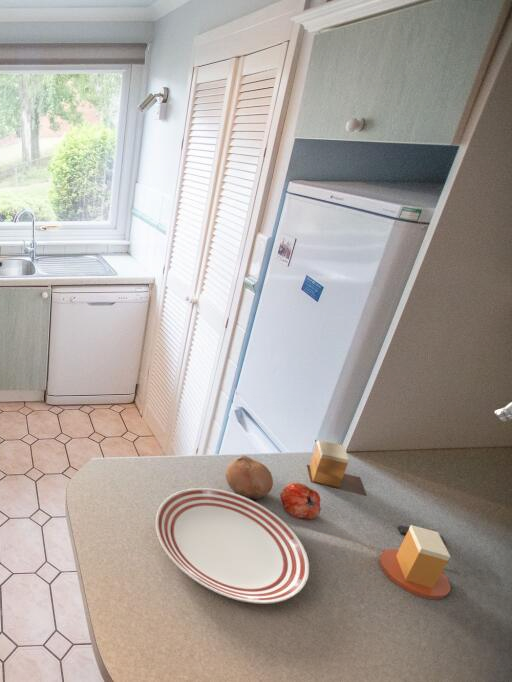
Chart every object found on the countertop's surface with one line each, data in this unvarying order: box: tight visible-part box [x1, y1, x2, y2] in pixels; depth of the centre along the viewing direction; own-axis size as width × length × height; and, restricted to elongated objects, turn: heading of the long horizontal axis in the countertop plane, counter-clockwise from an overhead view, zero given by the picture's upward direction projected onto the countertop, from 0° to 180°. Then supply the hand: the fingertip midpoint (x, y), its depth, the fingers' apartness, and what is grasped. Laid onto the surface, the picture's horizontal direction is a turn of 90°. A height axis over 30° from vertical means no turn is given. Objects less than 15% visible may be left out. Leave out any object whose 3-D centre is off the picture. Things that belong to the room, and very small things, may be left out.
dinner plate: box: [155, 487, 310, 605], centre depth 90 cm, size 28×27×3 cm
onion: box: [225, 454, 274, 501], centre depth 103 cm, size 10×9×10 cm
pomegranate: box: [279, 482, 322, 520], centre depth 98 cm, size 7×7×10 cm
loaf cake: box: [306, 439, 368, 497], centre depth 106 cm, size 11×7×9 cm, turn 65°
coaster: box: [378, 548, 451, 600], centre depth 85 cm, size 10×10×1 cm
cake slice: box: [396, 524, 451, 588], centre depth 83 cm, size 4×6×8 cm, turn 154°
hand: (507, 429), depth 82 cm, fingers open, 8 cm apart
